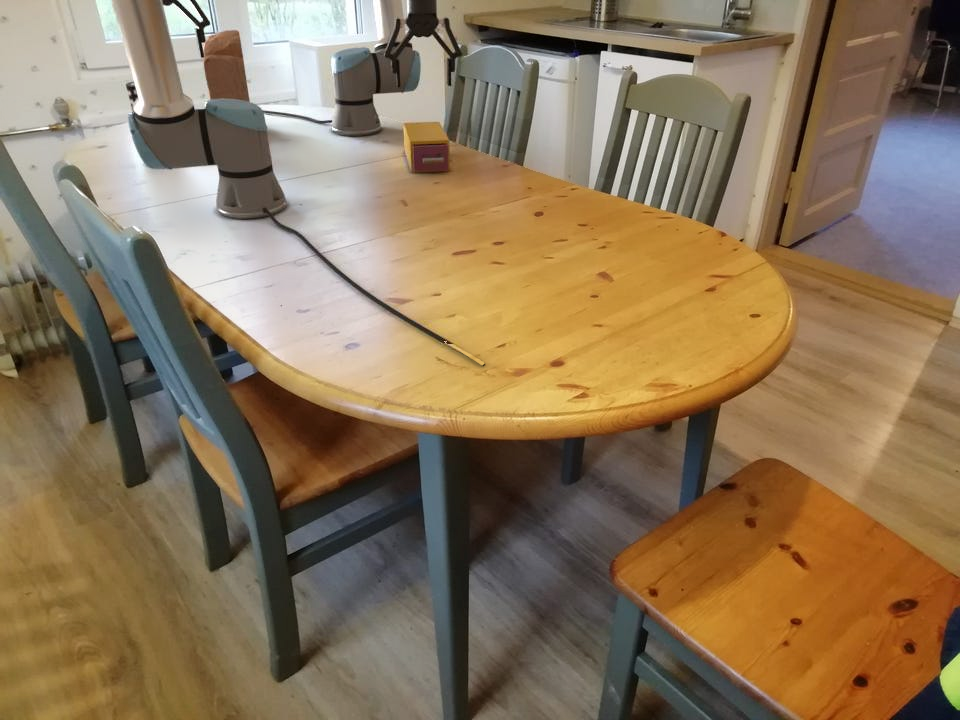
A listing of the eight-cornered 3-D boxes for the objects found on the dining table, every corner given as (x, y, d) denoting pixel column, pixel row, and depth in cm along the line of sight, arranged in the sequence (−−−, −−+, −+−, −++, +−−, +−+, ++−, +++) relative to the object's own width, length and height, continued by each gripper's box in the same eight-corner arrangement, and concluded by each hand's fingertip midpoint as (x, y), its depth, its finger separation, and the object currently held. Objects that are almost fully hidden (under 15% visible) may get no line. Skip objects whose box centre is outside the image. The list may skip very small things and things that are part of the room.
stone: (257, 139, 205) (240, 35, 190) (217, 142, 202) (197, 37, 187) (254, 125, 222) (238, 28, 208) (217, 127, 219) (198, 30, 205)
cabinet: (449, 170, 183) (449, 139, 178) (411, 172, 181) (410, 141, 177) (439, 150, 199) (439, 121, 194) (404, 152, 197) (403, 122, 193)
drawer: (451, 176, 176) (451, 151, 173) (416, 177, 175) (415, 153, 171) (439, 150, 196) (438, 127, 192) (407, 151, 194) (406, 129, 191)
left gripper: (206, -40, 170) (222, 53, 181) (93, -39, 160) (118, 59, 171) (210, -39, 164) (227, 57, 175) (94, -38, 154) (120, 64, 166)
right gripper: (467, -6, 178) (467, 81, 189) (370, -5, 174) (376, 83, 185) (472, -3, 172) (472, 87, 183) (372, -2, 168) (378, 89, 179)
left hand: (173, 58), depth 173 cm, fingers open, 13 cm apart
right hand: (424, 85), depth 184 cm, fingers open, 13 cm apart
